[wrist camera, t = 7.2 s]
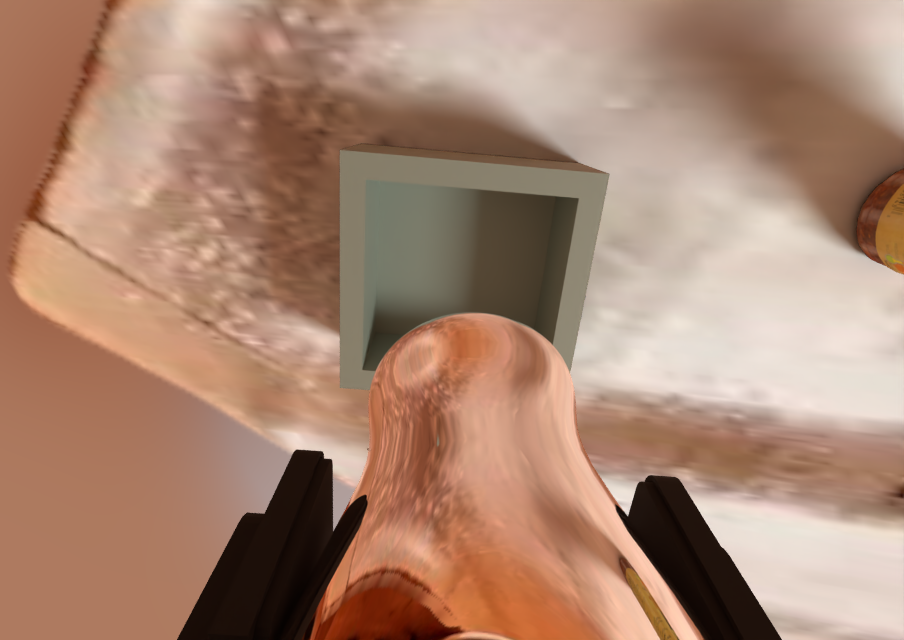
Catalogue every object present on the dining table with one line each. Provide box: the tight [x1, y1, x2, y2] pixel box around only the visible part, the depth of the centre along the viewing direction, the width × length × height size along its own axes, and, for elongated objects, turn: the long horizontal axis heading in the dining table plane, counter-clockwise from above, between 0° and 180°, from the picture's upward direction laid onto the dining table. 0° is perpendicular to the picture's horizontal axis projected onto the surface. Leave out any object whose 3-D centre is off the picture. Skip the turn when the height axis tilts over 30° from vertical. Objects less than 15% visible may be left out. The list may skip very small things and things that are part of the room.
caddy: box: [340, 144, 609, 390], centre depth 28 cm, size 12×12×6 cm
